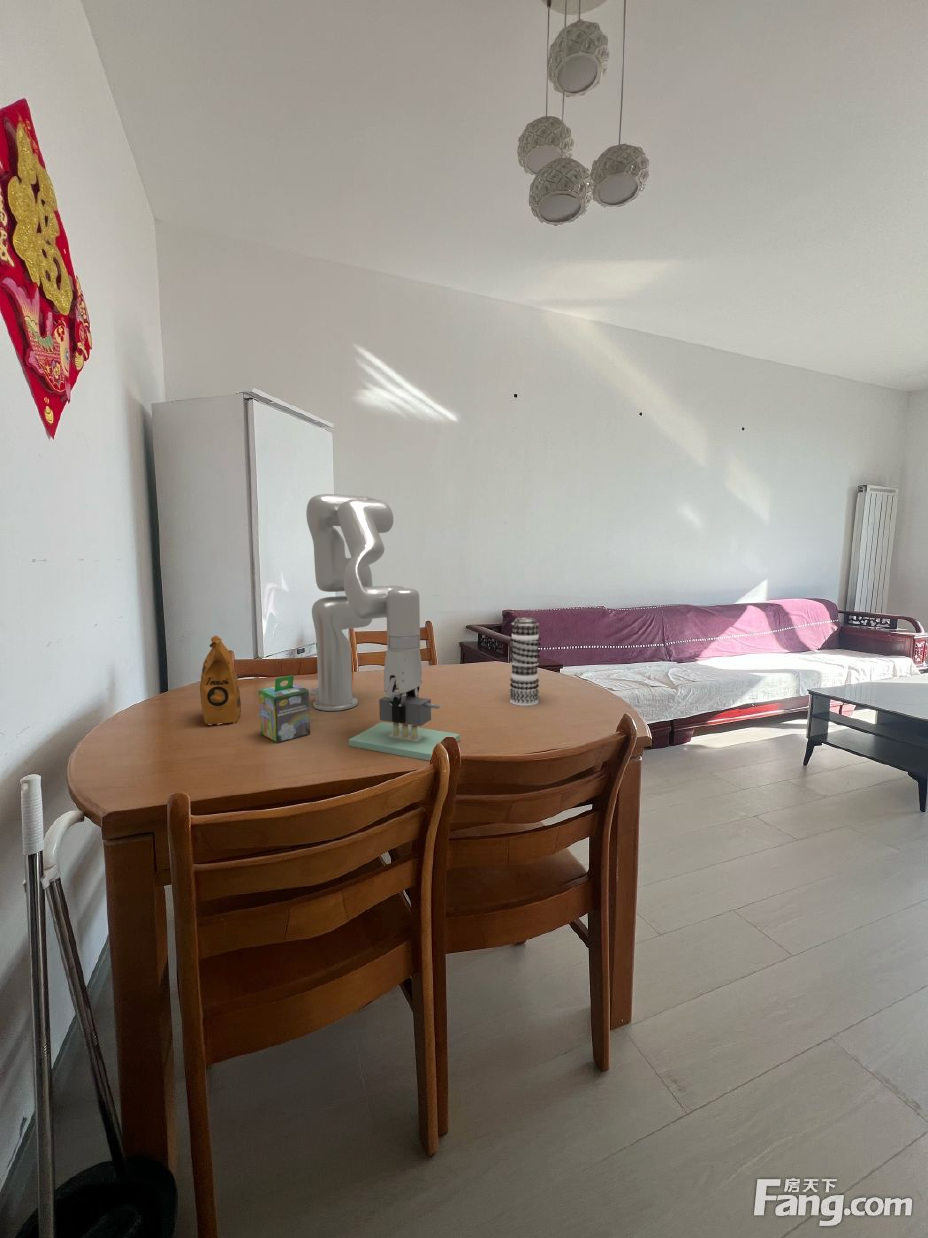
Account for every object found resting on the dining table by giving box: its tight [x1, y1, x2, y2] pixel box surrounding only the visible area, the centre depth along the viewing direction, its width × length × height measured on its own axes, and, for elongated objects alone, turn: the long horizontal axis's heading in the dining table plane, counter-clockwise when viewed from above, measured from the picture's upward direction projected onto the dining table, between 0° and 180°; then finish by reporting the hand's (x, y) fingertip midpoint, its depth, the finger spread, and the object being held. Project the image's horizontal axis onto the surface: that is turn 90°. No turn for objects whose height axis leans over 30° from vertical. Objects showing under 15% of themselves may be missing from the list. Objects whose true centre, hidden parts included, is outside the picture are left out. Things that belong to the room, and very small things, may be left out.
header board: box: [348, 721, 461, 762], centre depth 127 cm, size 22×14×4 cm, turn 66°
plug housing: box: [378, 695, 440, 727], centre depth 126 cm, size 14×5×5 cm, turn 66°
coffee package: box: [199, 635, 242, 725], centre depth 144 cm, size 10×12×22 cm
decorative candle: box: [509, 617, 542, 707], centre depth 159 cm, size 9×9×25 cm
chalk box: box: [257, 674, 311, 744], centre depth 132 cm, size 9×9×15 cm
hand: (405, 718), depth 127 cm, fingers closed on plug housing, 5 cm apart
